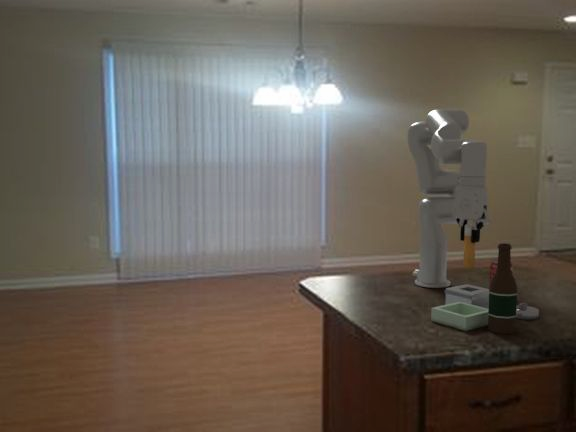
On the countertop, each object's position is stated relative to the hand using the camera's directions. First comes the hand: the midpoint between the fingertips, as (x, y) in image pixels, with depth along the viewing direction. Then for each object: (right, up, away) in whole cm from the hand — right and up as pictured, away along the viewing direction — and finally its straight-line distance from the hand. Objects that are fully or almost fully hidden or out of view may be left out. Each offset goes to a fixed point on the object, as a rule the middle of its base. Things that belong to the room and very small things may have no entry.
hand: (469, 240), depth 199 cm
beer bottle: (+3, -24, -22) cm, 33 cm away
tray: (-6, -23, -14) cm, 27 cm away
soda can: (+13, -20, +11) cm, 26 cm away
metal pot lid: (+14, -22, -7) cm, 27 cm away
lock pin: (0, -8, +1) cm, 8 cm away
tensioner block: (0, -21, +2) cm, 21 cm away
